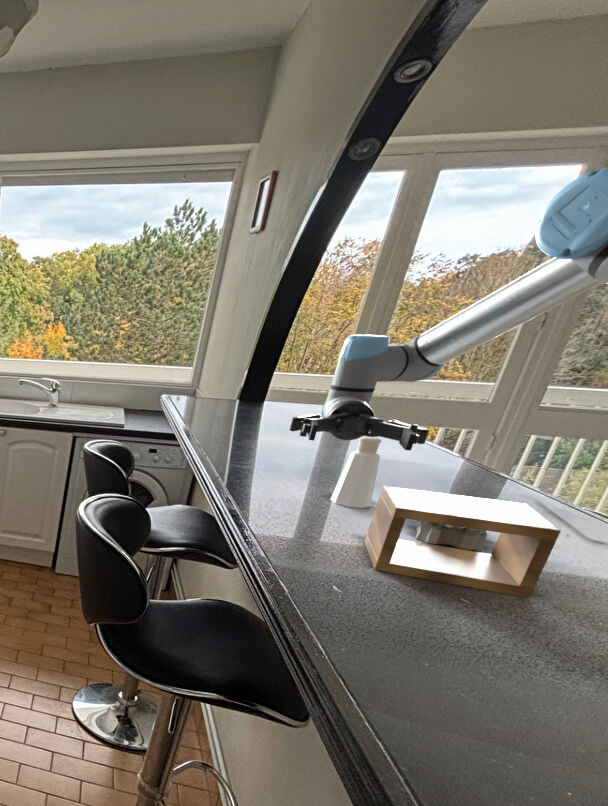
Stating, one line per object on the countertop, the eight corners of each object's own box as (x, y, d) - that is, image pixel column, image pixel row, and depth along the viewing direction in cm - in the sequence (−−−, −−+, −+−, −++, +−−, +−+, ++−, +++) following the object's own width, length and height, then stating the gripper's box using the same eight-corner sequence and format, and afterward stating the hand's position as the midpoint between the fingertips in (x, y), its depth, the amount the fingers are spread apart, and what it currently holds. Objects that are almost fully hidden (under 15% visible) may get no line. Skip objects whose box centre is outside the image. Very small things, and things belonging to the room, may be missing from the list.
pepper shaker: (322, 498, 100) (341, 434, 96) (351, 497, 101) (371, 434, 97) (348, 509, 95) (369, 441, 91) (378, 508, 96) (401, 441, 92)
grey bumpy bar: (415, 522, 90) (424, 496, 88) (482, 535, 85) (493, 508, 83) (409, 540, 83) (419, 512, 81) (482, 555, 78) (494, 526, 76)
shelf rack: (500, 564, 75) (527, 503, 72) (529, 598, 66) (561, 530, 63) (364, 542, 82) (383, 485, 79) (374, 570, 73) (396, 507, 70)
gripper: (422, 445, 114) (446, 469, 97) (272, 430, 126) (271, 449, 109) (436, 405, 111) (463, 423, 95) (281, 394, 123) (282, 408, 107)
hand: (360, 437), depth 102 cm, fingers open, 13 cm apart
